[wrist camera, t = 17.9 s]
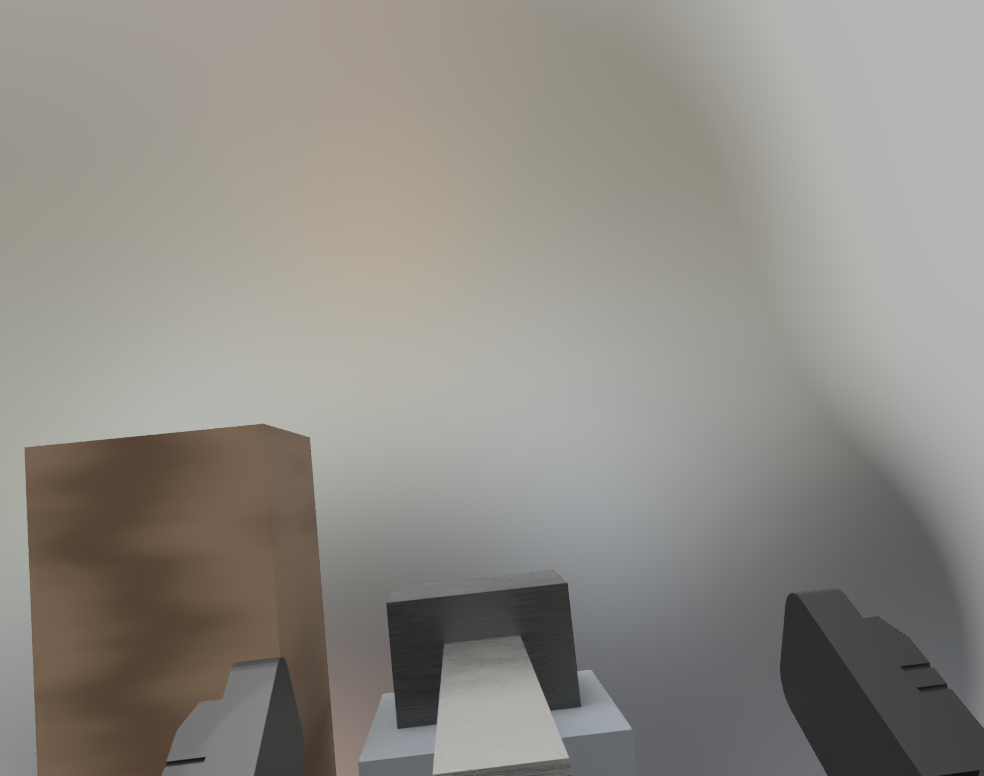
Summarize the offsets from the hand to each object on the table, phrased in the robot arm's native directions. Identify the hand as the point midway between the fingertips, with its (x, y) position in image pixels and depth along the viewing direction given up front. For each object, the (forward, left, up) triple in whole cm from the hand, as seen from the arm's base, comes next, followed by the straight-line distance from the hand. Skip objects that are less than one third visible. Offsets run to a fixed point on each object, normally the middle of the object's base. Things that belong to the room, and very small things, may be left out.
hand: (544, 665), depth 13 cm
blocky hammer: (-1, +10, -5) cm, 11 cm away
